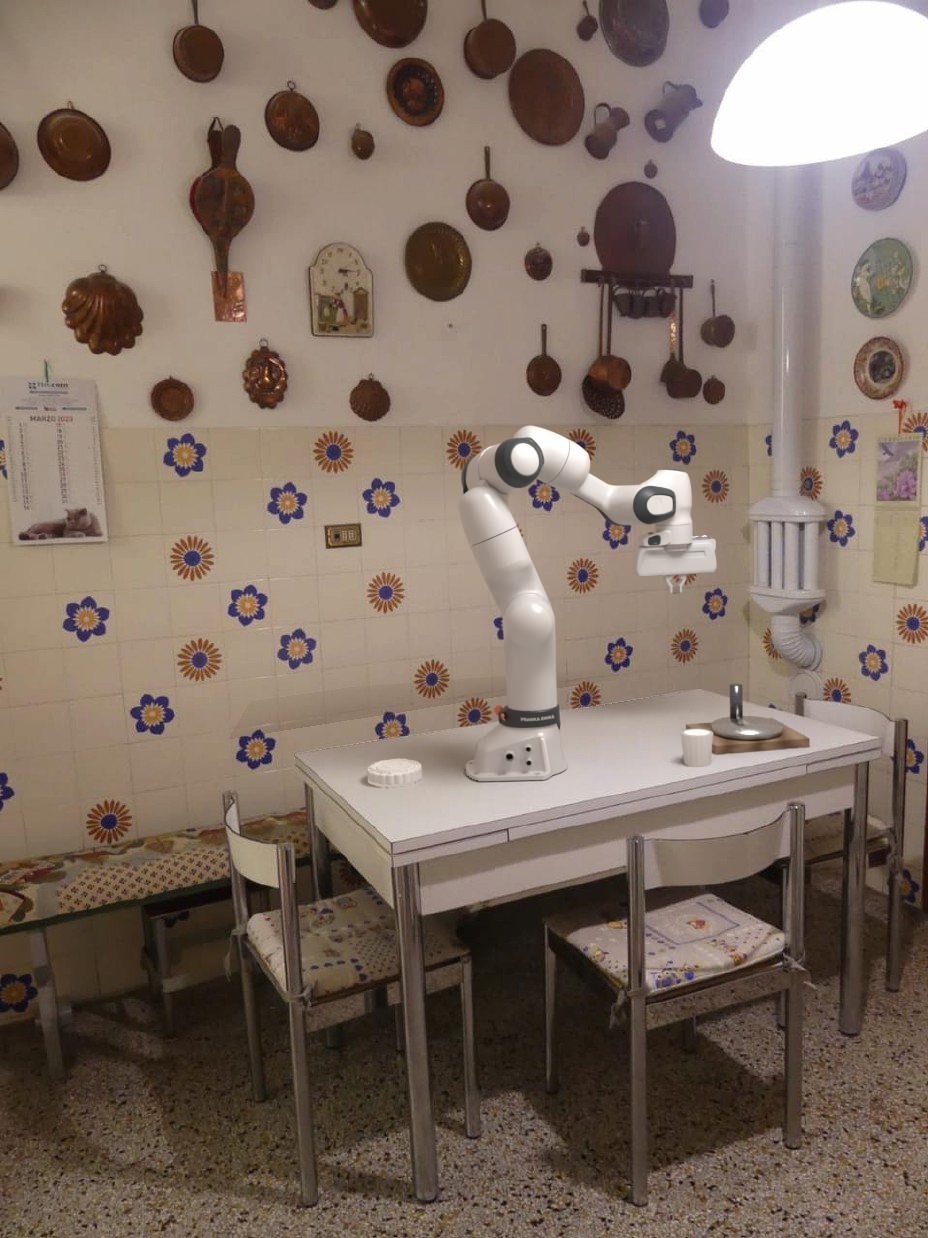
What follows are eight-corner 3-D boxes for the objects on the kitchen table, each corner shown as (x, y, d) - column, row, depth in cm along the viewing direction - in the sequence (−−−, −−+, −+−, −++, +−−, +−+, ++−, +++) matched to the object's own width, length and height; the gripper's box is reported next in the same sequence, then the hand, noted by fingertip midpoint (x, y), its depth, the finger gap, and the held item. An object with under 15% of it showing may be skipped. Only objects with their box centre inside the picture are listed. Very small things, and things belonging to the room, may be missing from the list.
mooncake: (383, 770, 215) (382, 755, 214) (431, 774, 210) (430, 758, 209) (357, 787, 204) (356, 770, 203) (407, 791, 199) (406, 774, 199)
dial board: (715, 754, 213) (715, 744, 212) (685, 732, 232) (685, 723, 232) (809, 747, 215) (809, 737, 214) (772, 725, 234) (772, 716, 234)
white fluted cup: (714, 768, 203) (714, 736, 202) (681, 767, 205) (681, 736, 204) (712, 758, 210) (712, 728, 209) (681, 758, 211) (680, 728, 210)
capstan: (794, 737, 215) (793, 696, 213) (724, 741, 214) (724, 700, 213) (766, 719, 231) (766, 681, 230) (702, 724, 230) (701, 685, 229)
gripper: (710, 533, 233) (711, 589, 235) (629, 538, 231) (631, 594, 233) (720, 534, 227) (721, 592, 228) (637, 539, 225) (638, 597, 227)
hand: (675, 593), depth 231 cm, fingers closed
